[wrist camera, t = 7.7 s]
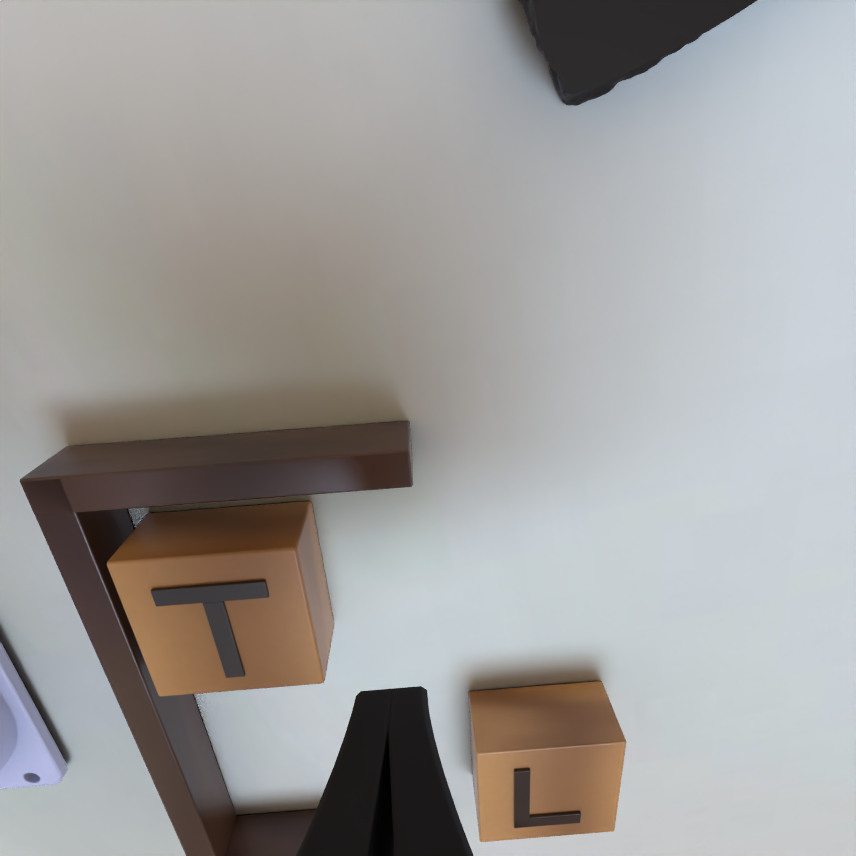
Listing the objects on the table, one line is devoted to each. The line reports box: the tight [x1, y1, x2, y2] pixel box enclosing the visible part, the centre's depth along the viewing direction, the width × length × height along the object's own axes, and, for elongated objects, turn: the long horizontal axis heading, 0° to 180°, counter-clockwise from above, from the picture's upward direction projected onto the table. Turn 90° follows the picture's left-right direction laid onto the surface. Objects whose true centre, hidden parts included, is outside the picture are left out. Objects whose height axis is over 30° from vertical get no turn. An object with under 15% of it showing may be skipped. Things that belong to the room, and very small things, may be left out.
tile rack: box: [20, 421, 413, 856], centre depth 16 cm, size 9×17×2 cm, turn 4°
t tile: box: [107, 501, 334, 696], centre depth 14 cm, size 5×5×2 cm
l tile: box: [469, 681, 626, 842], centre depth 17 cm, size 5×5×2 cm
